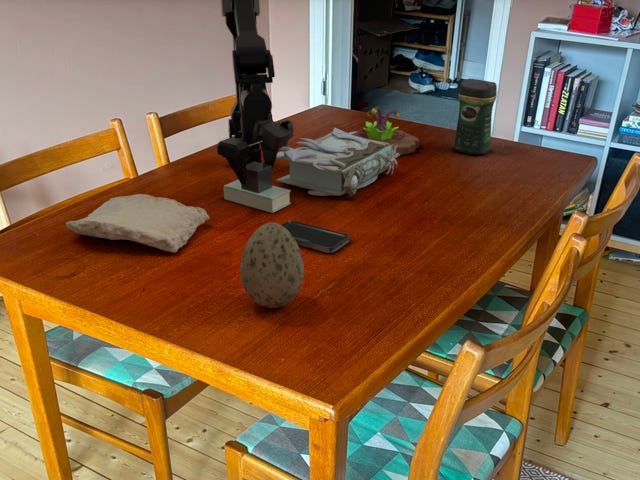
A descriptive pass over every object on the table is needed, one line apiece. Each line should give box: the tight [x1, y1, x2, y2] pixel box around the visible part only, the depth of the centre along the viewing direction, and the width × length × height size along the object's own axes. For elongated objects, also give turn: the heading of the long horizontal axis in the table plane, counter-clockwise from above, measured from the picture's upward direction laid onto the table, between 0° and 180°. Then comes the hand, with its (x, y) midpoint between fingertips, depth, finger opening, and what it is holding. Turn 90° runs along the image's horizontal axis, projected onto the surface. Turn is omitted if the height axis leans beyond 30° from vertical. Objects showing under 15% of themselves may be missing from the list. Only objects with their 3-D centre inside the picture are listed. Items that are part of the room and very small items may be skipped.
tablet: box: [65, 193, 210, 254], centre depth 151 cm, size 24×8×20 cm
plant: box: [347, 106, 420, 156], centre depth 201 cm, size 20×20×11 cm
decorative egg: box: [239, 222, 305, 309], centre depth 125 cm, size 11×11×15 cm
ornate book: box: [275, 126, 401, 198], centre depth 181 cm, size 23×10×30 cm
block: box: [241, 161, 273, 193], centre depth 166 cm, size 5×5×5 cm
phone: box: [281, 220, 350, 254], centre depth 152 cm, size 8×1×15 cm
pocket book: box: [223, 178, 292, 214], centre depth 168 cm, size 14×7×3 cm, turn 56°
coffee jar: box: [453, 78, 498, 156], centre depth 198 cm, size 10×8×19 cm
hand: (256, 178), depth 166 cm, fingers open, 9 cm apart
